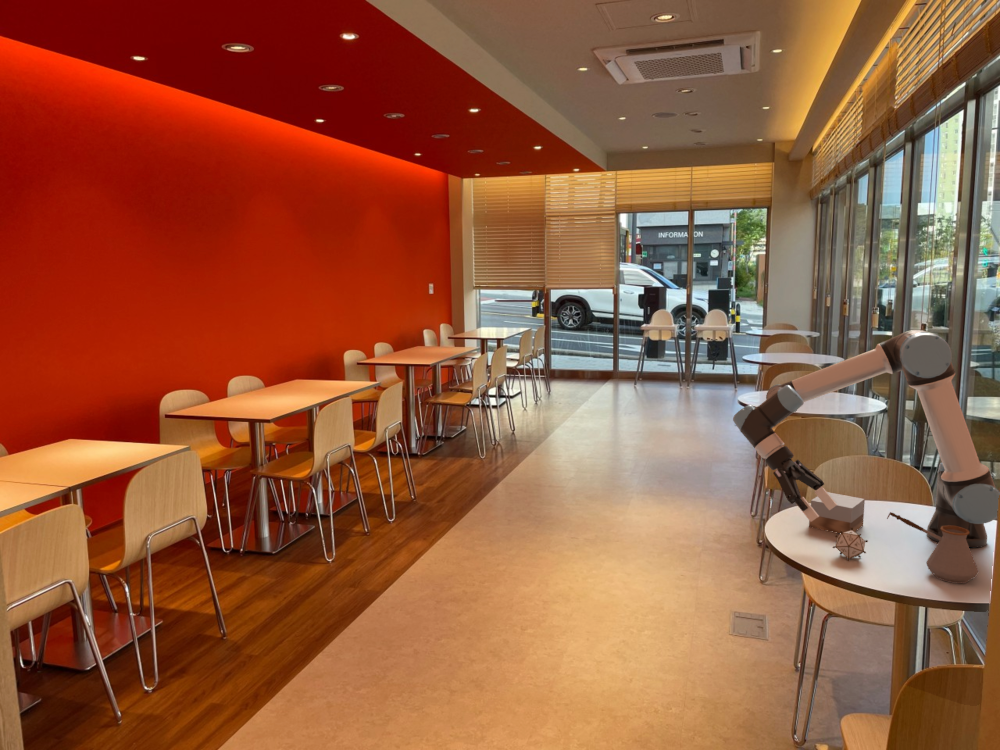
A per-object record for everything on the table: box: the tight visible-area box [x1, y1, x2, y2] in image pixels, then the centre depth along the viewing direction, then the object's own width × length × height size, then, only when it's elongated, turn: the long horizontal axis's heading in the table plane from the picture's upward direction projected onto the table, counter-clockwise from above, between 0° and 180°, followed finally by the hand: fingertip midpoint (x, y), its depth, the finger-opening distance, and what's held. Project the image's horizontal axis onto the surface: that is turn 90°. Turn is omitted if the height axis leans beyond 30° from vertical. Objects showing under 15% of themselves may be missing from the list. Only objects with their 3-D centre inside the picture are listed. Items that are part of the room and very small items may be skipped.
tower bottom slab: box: [808, 512, 865, 534], centre depth 231 cm, size 12×12×4 cm
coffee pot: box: [886, 511, 979, 584], centre depth 194 cm, size 21×12×15 cm, turn 58°
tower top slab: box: [810, 491, 866, 523], centre depth 230 cm, size 12×12×4 cm
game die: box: [831, 527, 869, 562], centre depth 205 cm, size 9×8×10 cm
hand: (824, 513), depth 209 cm, fingers open, 13 cm apart
